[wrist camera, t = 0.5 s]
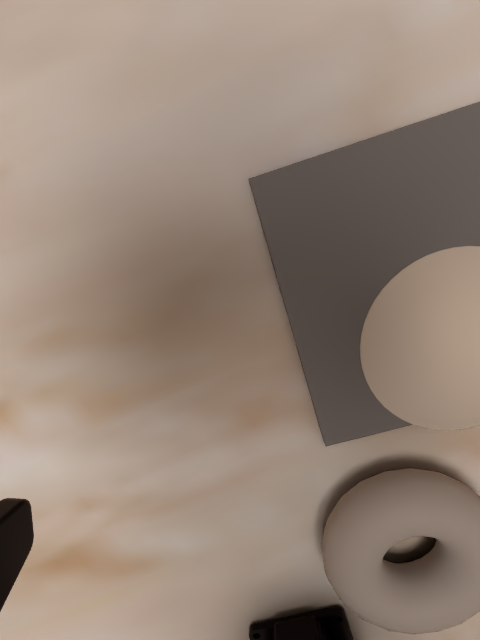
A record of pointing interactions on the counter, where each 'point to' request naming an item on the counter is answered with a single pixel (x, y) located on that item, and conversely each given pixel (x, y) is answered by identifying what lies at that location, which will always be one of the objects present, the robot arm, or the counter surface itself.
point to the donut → (397, 525)
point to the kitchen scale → (384, 275)
